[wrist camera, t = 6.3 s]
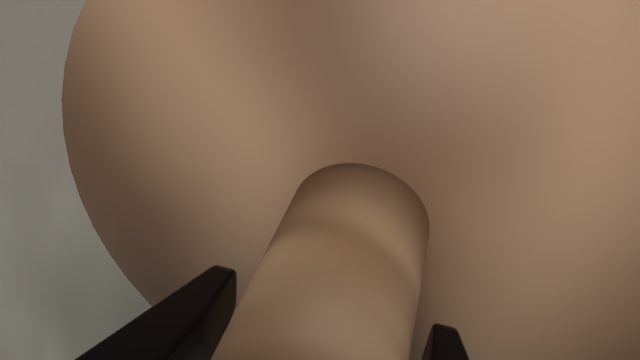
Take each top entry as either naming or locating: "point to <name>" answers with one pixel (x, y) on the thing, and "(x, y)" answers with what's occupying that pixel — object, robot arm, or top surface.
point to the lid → (371, 168)
